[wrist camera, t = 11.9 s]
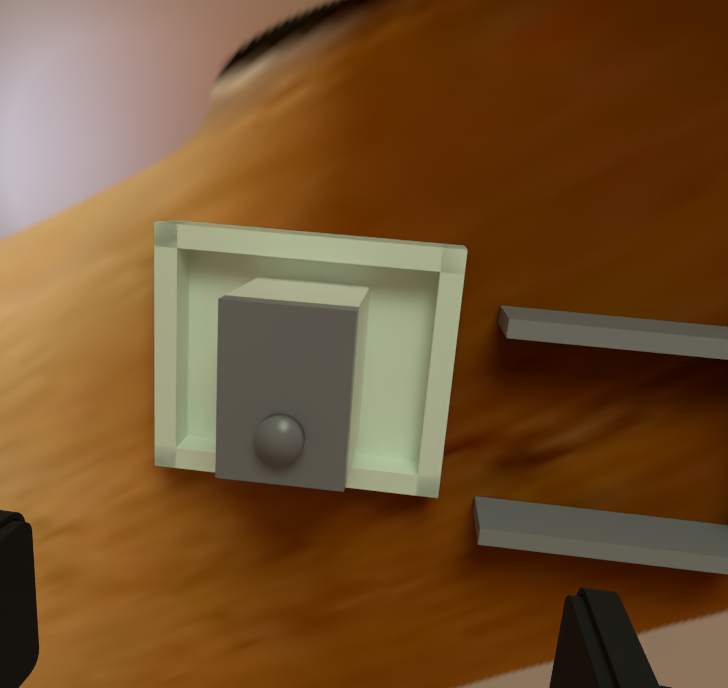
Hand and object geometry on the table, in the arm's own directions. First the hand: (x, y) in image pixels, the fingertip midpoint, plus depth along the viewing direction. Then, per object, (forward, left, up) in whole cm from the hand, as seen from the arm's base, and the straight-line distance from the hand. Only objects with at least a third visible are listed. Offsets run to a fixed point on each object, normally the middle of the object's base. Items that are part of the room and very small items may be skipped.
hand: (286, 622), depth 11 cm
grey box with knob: (+3, +1, -19) cm, 19 cm away
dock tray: (+3, +1, -19) cm, 19 cm away
